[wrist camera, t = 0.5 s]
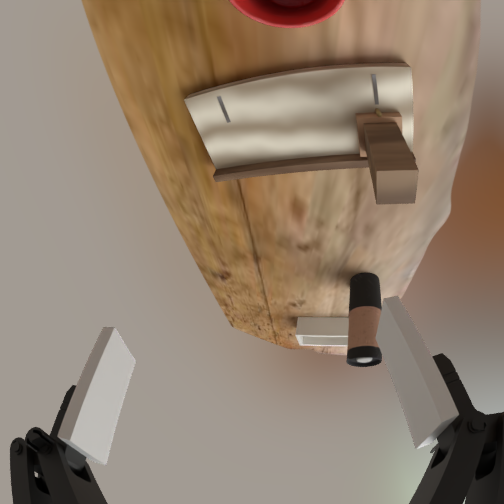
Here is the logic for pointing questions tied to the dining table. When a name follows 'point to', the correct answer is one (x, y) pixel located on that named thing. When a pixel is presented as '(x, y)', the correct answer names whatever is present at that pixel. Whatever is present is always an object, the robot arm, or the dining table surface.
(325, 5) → the flower pot
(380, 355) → the travel mug
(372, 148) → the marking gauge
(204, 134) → the birch board
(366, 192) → the dining table surface
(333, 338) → the white rectangular planter box
